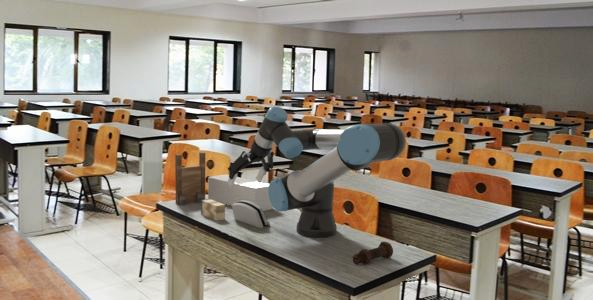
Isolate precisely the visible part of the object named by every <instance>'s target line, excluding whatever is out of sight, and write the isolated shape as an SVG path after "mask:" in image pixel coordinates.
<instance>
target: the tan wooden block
mask: <svg viewBox="0 0 593 300" xmlns="http://www.w3.org/2000/svg"><path fill="white" fill-rule="evenodd" d="M200 215H202V216H204V217H207V218H209V219H211V220H214V221H215V222H216V221H223V220H225V219H226V204H223V203H219V202H217V201H214V200H211V199H208V198H207V199H206V198H205V200H201V202H200Z"/></svg>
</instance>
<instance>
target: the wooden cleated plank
mask: <svg viewBox="0 0 593 300" xmlns="http://www.w3.org/2000/svg"><path fill="white" fill-rule="evenodd" d="M198 155H199V157H198V159H199V164H198V165H193V166H185V167H182V165H183V164H182V163H183V161H182V159H183V158H182V154H179V153H177V154H175V156H174V157H175V159H174V160H175V161H174V162H175V164H174V165H175V166H174V167H175V179H174V180H175V181H174V183H175V204H176V205H180V206H181V205H184V206H185V205H186V204H187V203H194V202H196V203H201V200H205V199H206V152H203V151H202V152H201V151H200V152H199V154H198Z"/></svg>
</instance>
